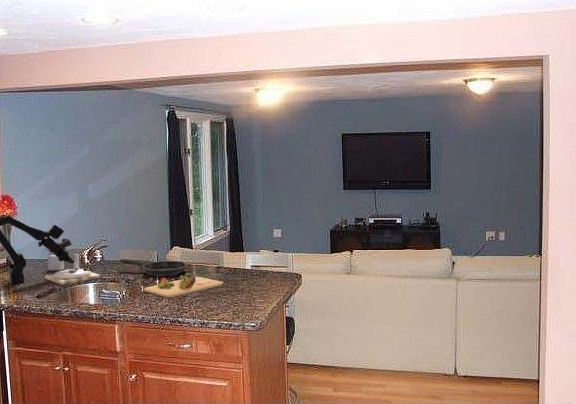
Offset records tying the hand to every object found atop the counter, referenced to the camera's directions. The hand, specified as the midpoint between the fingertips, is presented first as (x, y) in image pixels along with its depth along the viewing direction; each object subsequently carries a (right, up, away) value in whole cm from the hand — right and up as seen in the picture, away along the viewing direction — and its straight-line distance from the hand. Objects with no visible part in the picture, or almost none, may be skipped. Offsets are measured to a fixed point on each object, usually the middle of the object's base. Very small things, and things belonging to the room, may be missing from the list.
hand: (73, 262), depth 338 cm
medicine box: (-17, -6, +17) cm, 25 cm away
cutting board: (+70, -10, -36) cm, 79 cm away
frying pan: (+46, -6, +3) cm, 46 cm away
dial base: (+2, -8, -7) cm, 11 cm away
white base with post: (+2, -6, -8) cm, 10 cm away
